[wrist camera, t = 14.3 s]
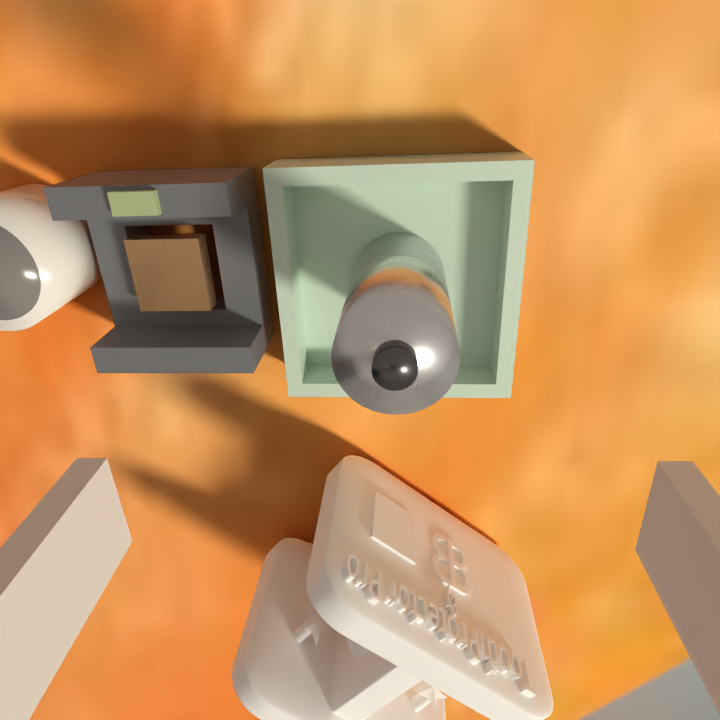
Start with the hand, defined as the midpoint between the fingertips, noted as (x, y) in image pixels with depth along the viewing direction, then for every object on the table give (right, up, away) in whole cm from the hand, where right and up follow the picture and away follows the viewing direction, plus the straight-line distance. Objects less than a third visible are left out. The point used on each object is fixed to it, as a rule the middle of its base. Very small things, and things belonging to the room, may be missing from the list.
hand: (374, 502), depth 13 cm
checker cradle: (-9, +9, +16) cm, 20 cm away
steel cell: (+2, +8, +14) cm, 16 cm away
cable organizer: (+2, -9, +24) cm, 26 cm away
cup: (-17, +10, +16) cm, 25 cm away
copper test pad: (-9, +8, +14) cm, 19 cm away
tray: (+2, +8, +15) cm, 17 cm away
